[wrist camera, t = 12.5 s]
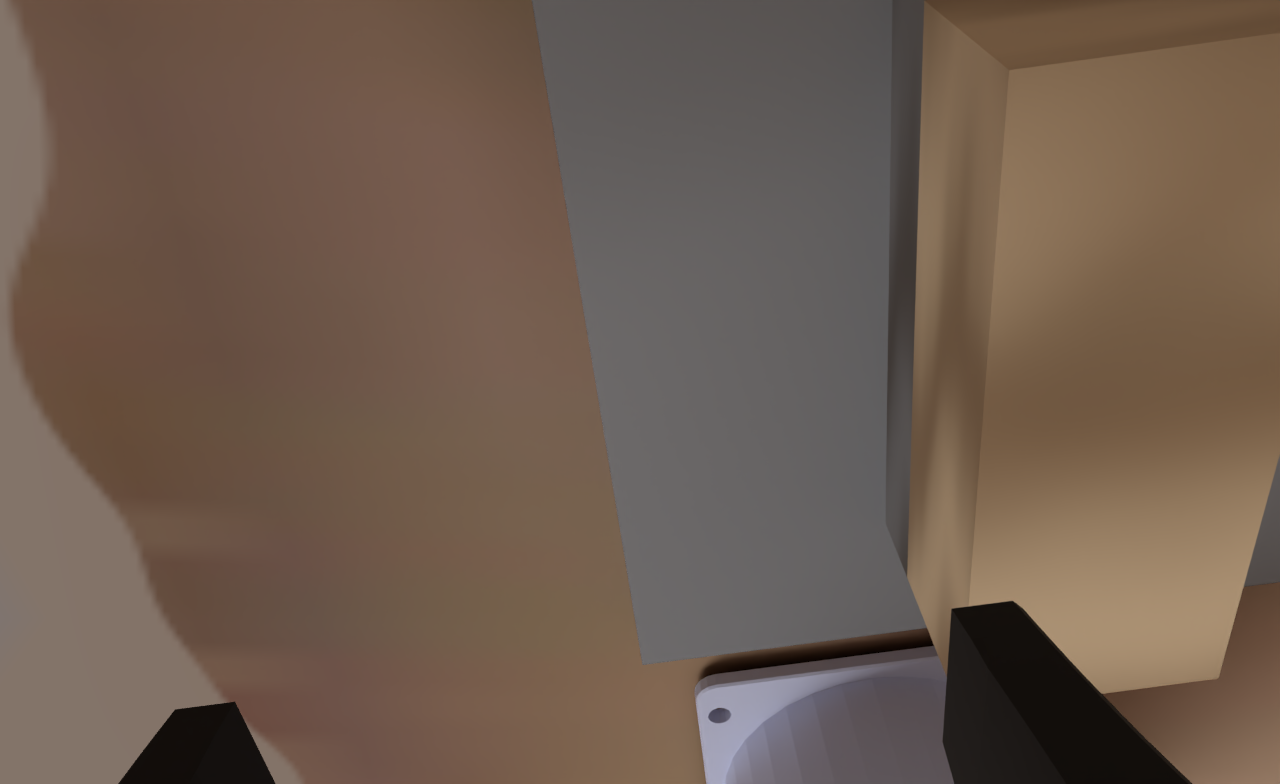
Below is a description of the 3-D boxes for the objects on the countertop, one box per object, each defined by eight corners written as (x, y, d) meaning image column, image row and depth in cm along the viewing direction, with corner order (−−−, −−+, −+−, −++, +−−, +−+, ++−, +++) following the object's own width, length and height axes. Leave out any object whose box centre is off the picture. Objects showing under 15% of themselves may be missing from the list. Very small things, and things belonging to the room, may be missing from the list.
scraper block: (1094, 495, 20) (1217, 678, 16) (885, 523, 20) (961, 712, 16) (1181, -66, 14) (1399, 15, 11) (892, -26, 15) (1009, 70, 11)
